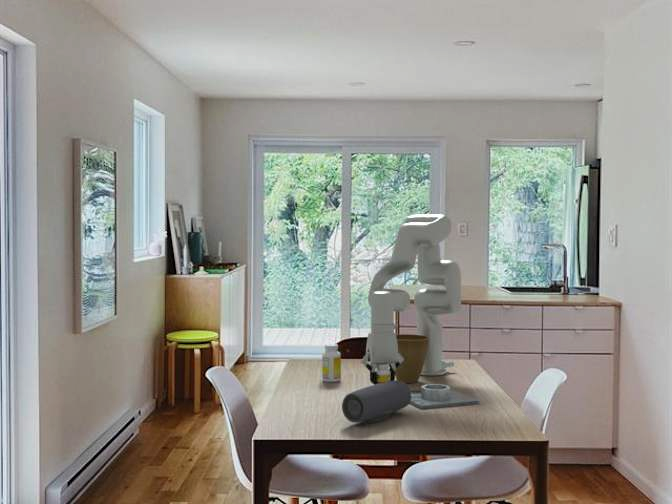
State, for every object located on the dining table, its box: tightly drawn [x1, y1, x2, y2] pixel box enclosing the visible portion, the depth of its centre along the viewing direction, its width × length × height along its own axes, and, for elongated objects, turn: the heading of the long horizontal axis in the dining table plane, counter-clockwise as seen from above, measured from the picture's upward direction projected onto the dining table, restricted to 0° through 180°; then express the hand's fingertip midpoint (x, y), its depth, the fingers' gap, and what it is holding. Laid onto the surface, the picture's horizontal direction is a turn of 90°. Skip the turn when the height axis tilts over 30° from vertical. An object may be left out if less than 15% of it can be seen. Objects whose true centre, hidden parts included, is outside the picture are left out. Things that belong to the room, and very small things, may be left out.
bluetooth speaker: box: [341, 379, 411, 424], centre depth 226 cm, size 23×9×10 cm, turn 141°
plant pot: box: [394, 333, 429, 384], centre depth 278 cm, size 15×15×16 cm
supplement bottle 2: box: [373, 363, 391, 385], centre depth 260 cm, size 5×5×10 cm
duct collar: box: [409, 383, 480, 410], centre depth 250 cm, size 20×20×4 cm
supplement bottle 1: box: [321, 343, 342, 383], centre depth 280 cm, size 7×7×13 cm
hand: (382, 382), depth 260 cm, fingers open, 5 cm apart
